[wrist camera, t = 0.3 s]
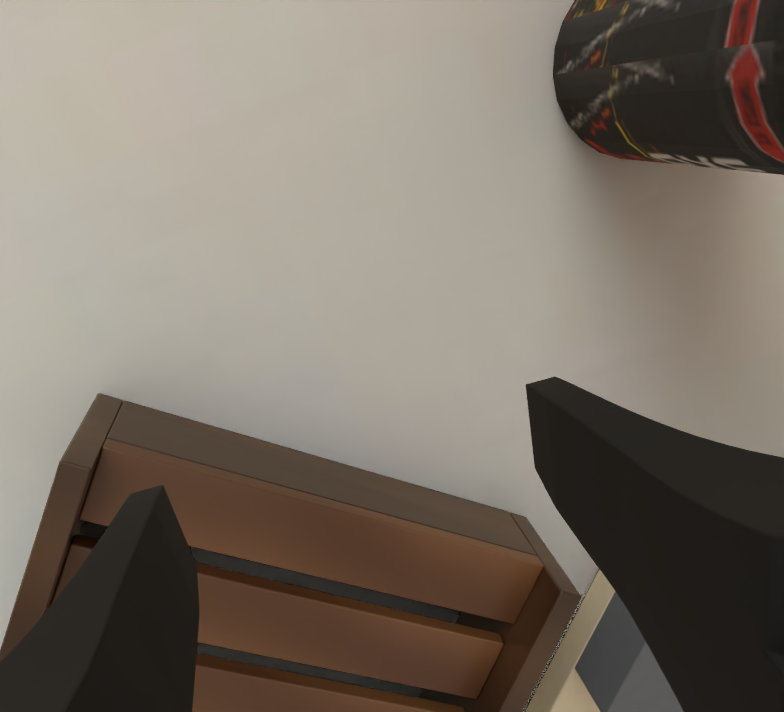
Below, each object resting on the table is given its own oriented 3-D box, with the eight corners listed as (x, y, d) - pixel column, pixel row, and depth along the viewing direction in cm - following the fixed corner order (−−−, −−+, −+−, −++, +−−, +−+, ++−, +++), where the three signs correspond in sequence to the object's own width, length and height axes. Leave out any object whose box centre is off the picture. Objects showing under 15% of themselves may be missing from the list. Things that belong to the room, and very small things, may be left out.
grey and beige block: (601, 766, 32) (647, 850, 29) (505, 748, 31) (539, 834, 27) (717, 560, 30) (784, 622, 26) (618, 530, 29) (673, 592, 25)
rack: (407, 761, 30) (436, 878, 26) (2, 691, 26) (-54, 818, 21) (526, 516, 28) (582, 597, 23) (98, 392, 23) (59, 460, 18)
